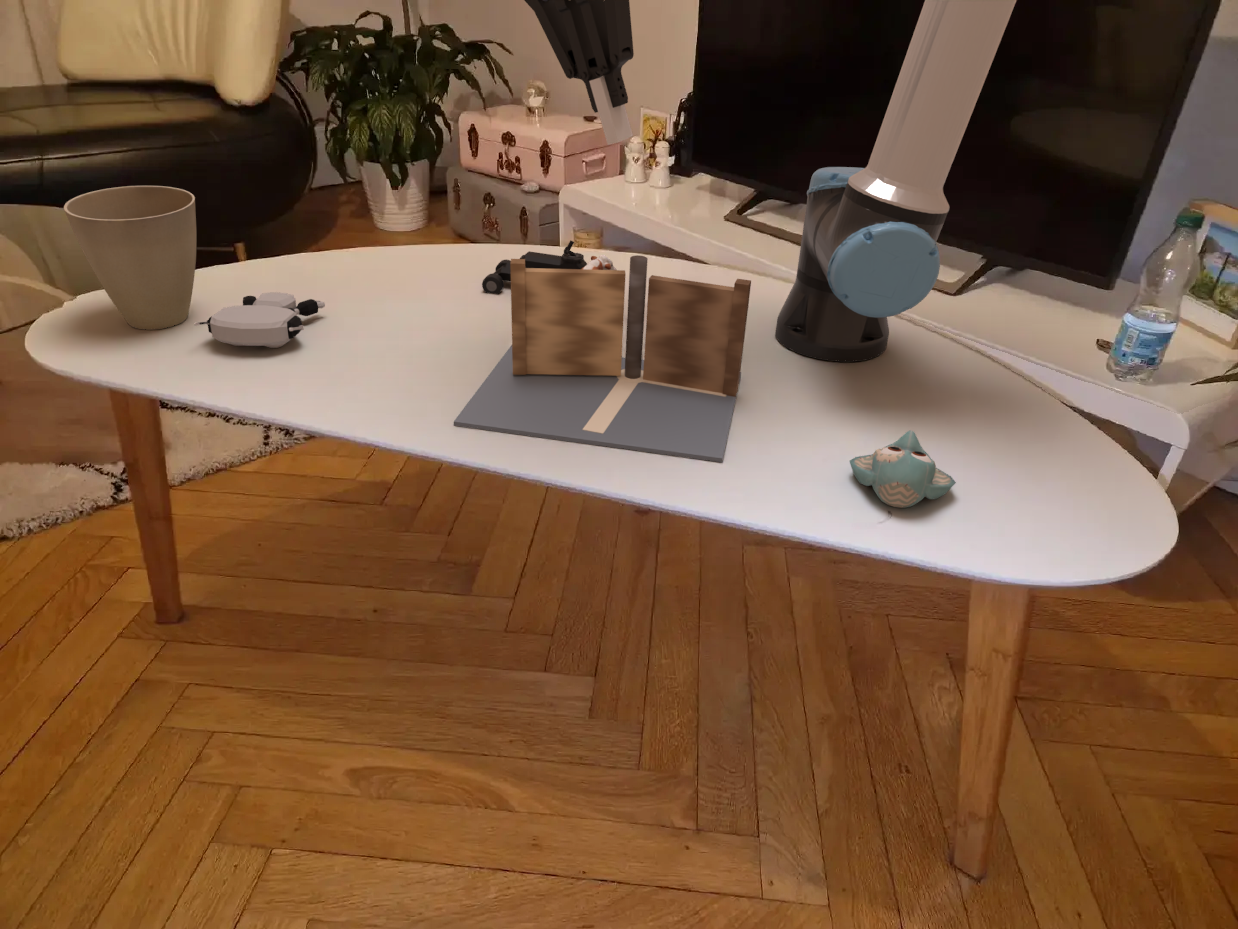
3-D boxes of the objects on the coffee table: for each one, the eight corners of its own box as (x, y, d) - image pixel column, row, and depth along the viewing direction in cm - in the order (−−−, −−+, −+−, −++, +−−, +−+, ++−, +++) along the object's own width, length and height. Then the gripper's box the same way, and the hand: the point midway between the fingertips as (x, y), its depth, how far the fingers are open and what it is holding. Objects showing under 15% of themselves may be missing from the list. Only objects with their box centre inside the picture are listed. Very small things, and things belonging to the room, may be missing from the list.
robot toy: (245, 317, 130) (196, 354, 116) (241, 285, 128) (190, 319, 114) (332, 322, 129) (293, 359, 116) (329, 290, 127) (288, 325, 114)
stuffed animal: (966, 422, 98) (968, 457, 87) (950, 485, 100) (950, 526, 90) (863, 403, 101) (852, 434, 90) (850, 465, 103) (838, 502, 92)
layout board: (740, 375, 118) (741, 371, 117) (722, 462, 99) (722, 457, 99) (512, 347, 122) (512, 343, 122) (453, 425, 104) (453, 420, 103)
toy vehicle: (577, 308, 137) (581, 250, 132) (479, 294, 139) (479, 236, 134) (589, 289, 144) (593, 234, 139) (496, 275, 146) (496, 220, 141)
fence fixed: (622, 381, 115) (628, 259, 107) (627, 374, 116) (633, 254, 108) (734, 401, 111) (749, 277, 103) (737, 394, 113) (752, 271, 105)
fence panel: (620, 370, 115) (625, 261, 108) (620, 376, 114) (625, 266, 107) (513, 368, 115) (511, 258, 107) (512, 374, 113) (510, 263, 106)
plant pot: (75, 319, 124) (42, 199, 116) (182, 291, 134) (158, 179, 126) (129, 352, 116) (97, 226, 108) (238, 320, 126) (217, 202, 118)
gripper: (624, -138, 87) (689, 119, 96) (527, -90, 96) (595, 142, 105) (576, -133, 82) (648, 137, 91) (478, -83, 91) (554, 160, 100)
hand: (620, 140), depth 98 cm, fingers closed
